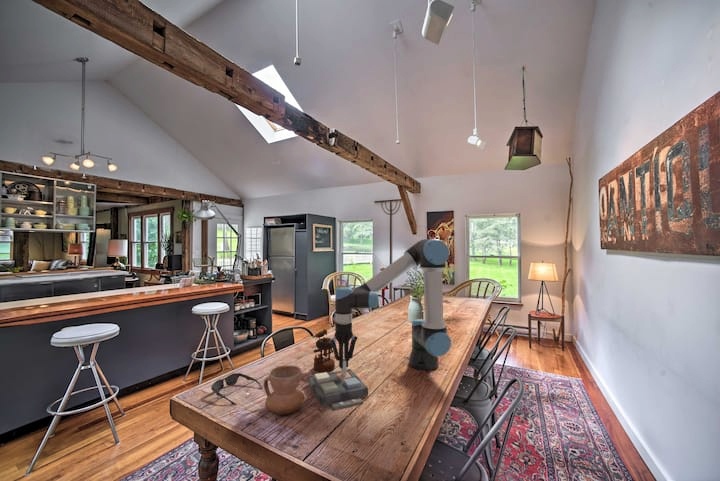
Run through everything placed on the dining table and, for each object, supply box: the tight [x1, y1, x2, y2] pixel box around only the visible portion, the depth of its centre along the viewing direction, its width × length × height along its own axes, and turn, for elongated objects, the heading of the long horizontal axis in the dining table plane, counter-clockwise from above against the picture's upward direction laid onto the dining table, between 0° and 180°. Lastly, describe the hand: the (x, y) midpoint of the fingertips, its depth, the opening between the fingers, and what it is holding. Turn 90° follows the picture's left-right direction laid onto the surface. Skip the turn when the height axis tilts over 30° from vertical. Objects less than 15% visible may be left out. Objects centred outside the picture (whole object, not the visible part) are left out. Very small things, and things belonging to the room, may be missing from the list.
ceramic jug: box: [263, 365, 306, 416], centre depth 114 cm, size 18×14×14 cm
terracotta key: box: [336, 372, 352, 379], centre depth 134 cm, size 6×6×2 cm
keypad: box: [307, 368, 369, 408], centre depth 127 cm, size 20×20×4 cm
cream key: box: [314, 372, 330, 383], centre depth 130 cm, size 6×6×2 cm
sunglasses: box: [210, 372, 264, 406], centre depth 126 cm, size 16×17×5 cm
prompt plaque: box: [330, 398, 364, 411], centre depth 116 cm, size 12×3×1 cm, turn 113°
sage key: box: [321, 382, 338, 394], centre depth 121 cm, size 6×6×2 cm
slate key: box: [344, 377, 361, 389], centre depth 125 cm, size 6×6×2 cm
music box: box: [311, 328, 336, 374], centre depth 150 cm, size 15×11×20 cm
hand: (343, 374), depth 134 cm, fingers closed
